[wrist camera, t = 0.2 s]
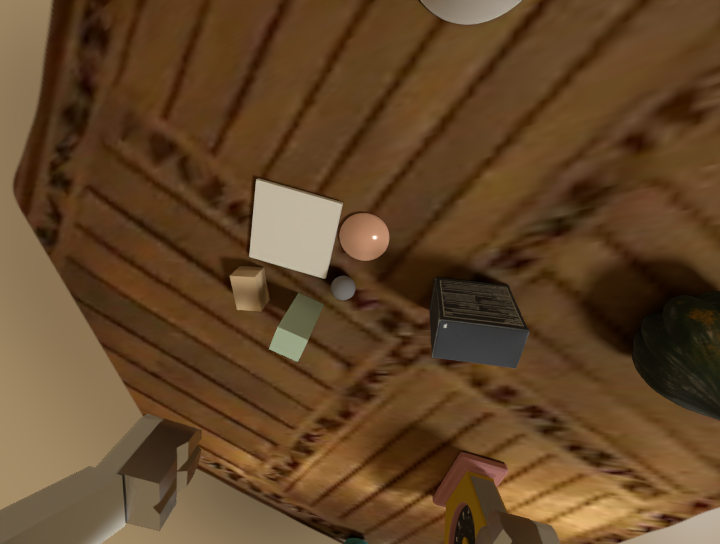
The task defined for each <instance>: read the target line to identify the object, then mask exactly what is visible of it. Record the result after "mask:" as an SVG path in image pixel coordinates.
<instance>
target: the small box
mask: <svg viewBox="0 0 720 544" xmlns="http://www.w3.org/2000/svg"><path fill="white" fill-rule="evenodd" d="M430 327H431V345H432V357H434V358H442V359H450V360H458V361H465V362H473V363H480V364H488V365H495V366H502V367H509V368H516V367H517V365H518V362H519V359H520V357H521V354H522V351H523V348H524V345H525V343H526V340H527V337H528V334H529V329H528V327H527V326H526V324H525V322H524V320H523V317H522V316H521V313H520V310H519V308H518V306H517V304H516V301H515V300H514V297H513V295H512V292H511V290H510V287H509V285H502V284H493V283H485V282H475V281H466V280H457V279H449V278H439V277H436V278H435V279H434V286H433V292H432V297H431V301H430Z"/></svg>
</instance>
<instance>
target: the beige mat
mask: <svg viewBox="0 0 720 544" xmlns="http://www.w3.org/2000/svg"><path fill="white" fill-rule="evenodd" d="M342 205H343V202H340V201H337V200H333V199H330V198H326V197H323V196H319V195H316V194H312V193H309V192H305V191H302V190H298V189H295V188H291V187H288V186H284V185H281V184H277V183H274V182H270V181H267V180H263V179H260V178H258V179H256V187H255V198H254V209H253V220H252V231H251V243H250V254H249V257H252V258H255V259H258V260H262V261H265V262H269V263H272V264H276V265H279V266H282V267H286V268H289V269H293V270H296V271H300V272H303V273H306V274H310V275H313V276H317V277H320V278H323V279H326V277H327V272H328V268H329V263H330V259H331V254H332V250H333V245H334V241H335V236H336V232H337V227H338V223H339V219H340V214H341V210H342Z"/></svg>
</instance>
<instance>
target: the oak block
mask: <svg viewBox="0 0 720 544" xmlns="http://www.w3.org/2000/svg"><path fill="white" fill-rule="evenodd" d="M230 280H231V284H232V289H233V293H234V298H235V302H236V306H237V310H250V311H262V310H263V308H264V307H265V306H266V304H267V303H268V302H269V300H270V299H269V293H268V288H267V282H266V276H265V270H264V267H251V266H239V267H238V268H237V269H236V270H235V271H234V272H233V273H232V274H231V275H230Z"/></svg>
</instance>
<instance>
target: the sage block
mask: <svg viewBox="0 0 720 544" xmlns="http://www.w3.org/2000/svg"><path fill="white" fill-rule="evenodd" d="M323 306H324V304H322V303H320V302H318V301H315V300H313V299H311V298H309V297H307V296H304V295H302V294H300V293H298V294H297V296H296V298H295V299H294V301H293V303H292V304H291V306H290V307H289V309H288V311H287V312H286V314H285V316H284V317H283V319H282V321H281V322H280V324H279V326H278V327H277V330H276V332H275V335H274V337H273V340H272V342H271V345H270V348H269V349H270V350H272V351H274V352H277V353H279V354H281V355H283V356H286V357H288V358H290V359H293V360H295V361H297V362H298V361H299V358H300V356H301V354H302V352H303V350H304V348H305V346H306V344H307V341H308V339H309V337H310V335H311V333H312V330H313V328H314V326H315V324H316V322H317V319H318V317H319V315H320V313H321V311H322V308H323Z"/></svg>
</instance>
